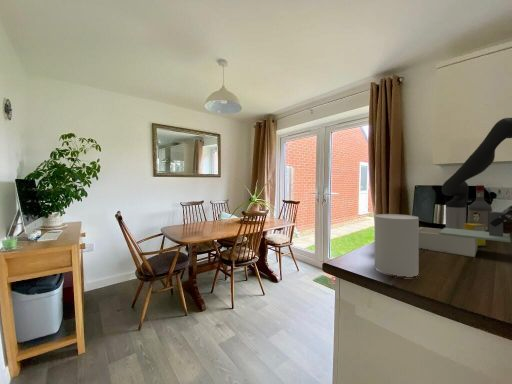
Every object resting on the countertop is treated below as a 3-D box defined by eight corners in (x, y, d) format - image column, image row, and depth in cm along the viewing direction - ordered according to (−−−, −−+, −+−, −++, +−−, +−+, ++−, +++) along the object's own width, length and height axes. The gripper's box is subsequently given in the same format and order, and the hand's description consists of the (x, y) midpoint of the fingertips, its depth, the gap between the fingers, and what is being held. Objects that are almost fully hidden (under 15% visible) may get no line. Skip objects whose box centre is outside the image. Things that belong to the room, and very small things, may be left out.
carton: (413, 247, 111) (413, 231, 111) (420, 241, 122) (420, 227, 122) (474, 257, 95) (474, 238, 95) (477, 249, 106) (477, 232, 105)
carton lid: (438, 234, 103) (438, 211, 103) (444, 229, 114) (444, 208, 114) (510, 242, 87) (510, 214, 87) (509, 235, 98) (509, 211, 98)
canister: (420, 281, 72) (420, 220, 72) (373, 273, 79) (373, 217, 79) (416, 268, 83) (416, 215, 83) (376, 262, 91) (375, 213, 90)
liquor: (473, 230, 147) (474, 185, 146) (492, 233, 139) (493, 185, 138) (466, 232, 143) (467, 185, 142) (486, 234, 135) (486, 185, 134)
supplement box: (475, 244, 115) (475, 223, 115) (485, 247, 109) (486, 225, 109) (462, 243, 116) (462, 223, 116) (472, 247, 110) (472, 225, 110)
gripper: (523, 190, 94) (484, 215, 103) (525, 191, 85) (482, 218, 93) (543, 203, 90) (501, 228, 99) (548, 206, 81) (501, 233, 89)
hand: (492, 223), depth 96 cm, fingers open, 8 cm apart
